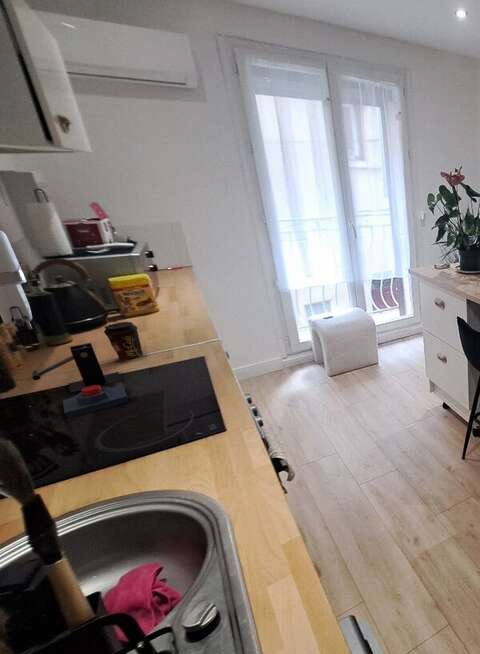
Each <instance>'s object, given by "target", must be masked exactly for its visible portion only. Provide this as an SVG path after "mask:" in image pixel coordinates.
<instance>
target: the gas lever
mask: <svg viewBox="0 0 480 654" xmlns="http://www.w3.org/2000/svg"><path fill="white" fill-rule="evenodd" d="M85 347H86V346H84V347H81V348H85ZM79 349H80V348H79ZM72 361H75V360H74V358H73V355H72V354H71V355H70V356H68V357H66V358H63V359H62V360H59V361H57V362H55V363H53V364H52V365H49V366H47V367H45V368H43V369H41V370H37V369H36V370H33V371H32V373H31V374H32V376H31V377H32V380H34V381H39V380H41V376H43V375H45V374H47V373H50V372H51V371H54V370H56V369H58V368H60V367H61V366H64V365H66V364H68V363H70V362H72Z"/></svg>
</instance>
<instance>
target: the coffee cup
mask: <svg viewBox="0 0 480 654" xmlns="http://www.w3.org/2000/svg"><path fill="white" fill-rule="evenodd" d="M138 329H139V328H138V326H137V325H135V324H134V323H133V322H131V321H120V322H115V323H111V324H109V325H105V326H104V331H103V333H104V334H105V336H106V337H107V338H108V340H109V343H110V345H111V347H112V348H113V350H114V351H115V353H116V356H117V357H118V360H119V361H123V362H124V361H131V360H135V359H139V358H141V357H143V356H144V352H143V349H142V344H141V339H140V335H139V332H138V331H139V330H138Z"/></svg>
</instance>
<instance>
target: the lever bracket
mask: <svg viewBox="0 0 480 654" xmlns="http://www.w3.org/2000/svg"><path fill="white" fill-rule="evenodd" d="M84 346H86V347H85V348H81V347H84ZM79 348H80V349H79ZM69 349H70V353H71V356H72V355H73V358H74V360H73V361H74V362H75V364H76V367H77V370H78V371H79V374H80V376H81V380H77V381H72V382H69V383H68V389H69V394H75V393H78V392H82V391H81V390H82V389H83V388H85V387H88V386H93V385H100V387H104V386H106V385H110V384H115V383H119V382H122V381H123V379H122V377H121V375H120V373H119V371H115V372H111V373H106V374H104V372H103V369H102V367H101V365H100V362H99V360H98V358H97V355H96V352H95V349H94V348H93V345H92V342H88V343H83V344H77V345H72V346H69Z"/></svg>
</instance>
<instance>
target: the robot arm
mask: <svg viewBox="0 0 480 654" xmlns="http://www.w3.org/2000/svg"><path fill="white" fill-rule="evenodd" d="M27 282H28V281H27V279H26V276H25V274H24V271H23V269H22V266H21V265H20V263H19V260H18V258H17V256H16V253H15V252H14V248H13V246H12V245H11V241H10V240H9V237H8V236H7V234H6V233H5V232H4V231H3V230H0V317H1V320H2V322H3V324H4V325H9V323H12V325H13V328H14V333H15V336H16V337H17V339H18V341H19V344H20V346H23V347H25V346H30V345H36V344H40V339H39V337H38V335H39V332H38V330H37V327H36V325H35V323H34V321H33V315H32V310H31V306H30V303H29V301H28V298H27V296H26V293H25V291H24V289H23V286H22V284H25V283H27Z"/></svg>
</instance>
